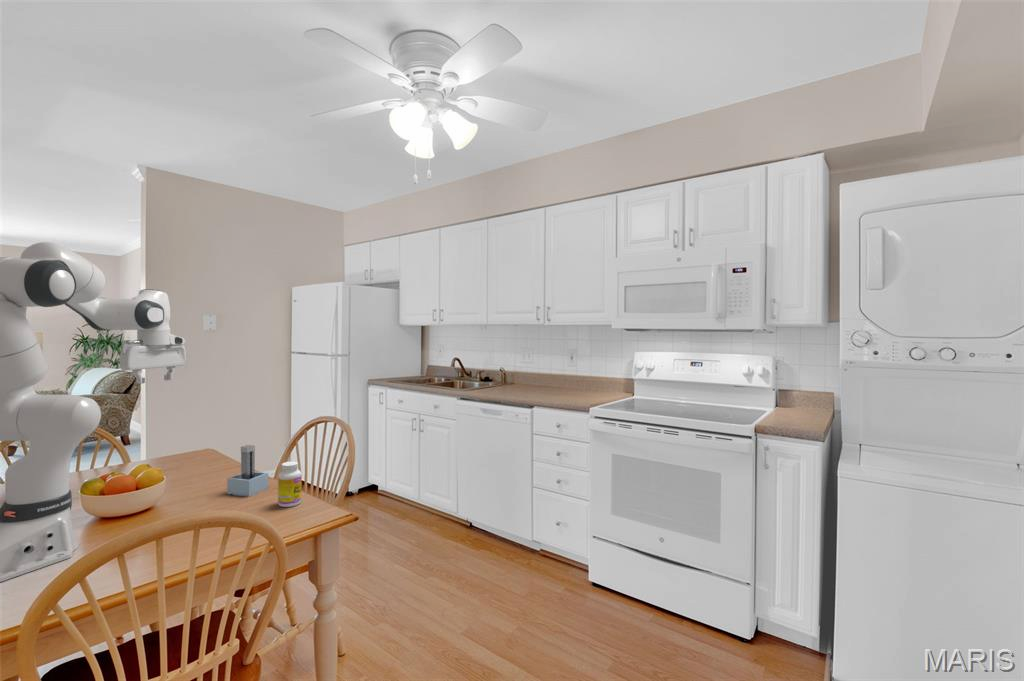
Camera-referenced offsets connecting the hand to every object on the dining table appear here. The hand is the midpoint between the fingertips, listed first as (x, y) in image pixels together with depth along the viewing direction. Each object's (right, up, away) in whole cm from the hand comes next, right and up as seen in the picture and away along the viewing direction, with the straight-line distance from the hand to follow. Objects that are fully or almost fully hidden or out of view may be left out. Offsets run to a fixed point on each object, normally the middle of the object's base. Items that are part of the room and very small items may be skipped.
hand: (154, 381), depth 158 cm
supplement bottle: (+47, -38, -6) cm, 61 cm away
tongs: (+28, -37, +5) cm, 46 cm away
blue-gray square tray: (+28, -37, +5) cm, 47 cm away
